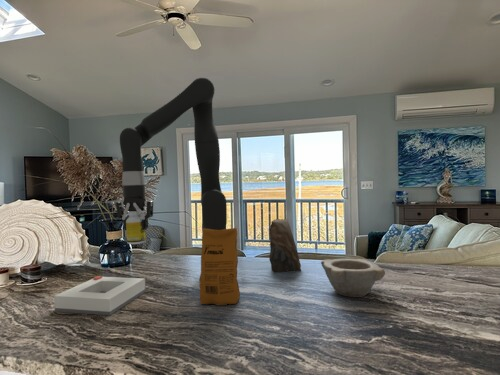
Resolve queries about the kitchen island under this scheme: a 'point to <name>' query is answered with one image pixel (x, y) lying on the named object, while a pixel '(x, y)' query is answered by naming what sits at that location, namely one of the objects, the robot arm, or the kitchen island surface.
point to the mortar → (352, 275)
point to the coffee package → (219, 267)
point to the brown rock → (283, 248)
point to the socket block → (99, 295)
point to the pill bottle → (135, 228)
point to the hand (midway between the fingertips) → (135, 229)
